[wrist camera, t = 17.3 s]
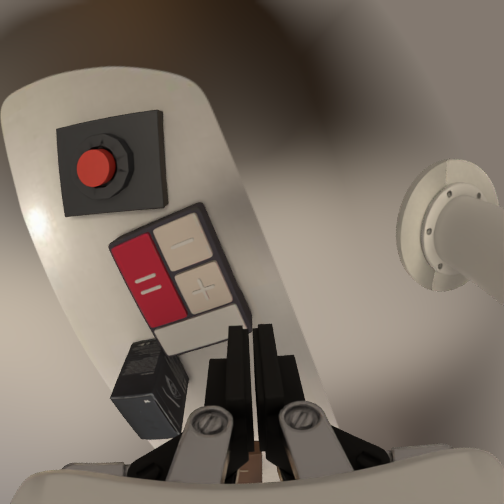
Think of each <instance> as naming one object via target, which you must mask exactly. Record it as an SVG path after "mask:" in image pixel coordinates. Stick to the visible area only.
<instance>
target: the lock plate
mask: <svg viewBox="0 0 504 504" xmlns="http://www.w3.org/2000/svg"><path fill="white" fill-rule="evenodd" d="M254 449H255V452H249V461H248V462H247V463H245V464H244V465H243V466H242V467H240V468H239V470H240V473H239V479H238V484H245V483H262V453H261V452H260V450H259V441H254Z"/></svg>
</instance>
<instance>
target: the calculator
mask: <svg viewBox="0 0 504 504" xmlns="http://www.w3.org/2000/svg"><path fill="white" fill-rule="evenodd" d="M108 247H109V250H110V252H111V254H112V257H113V259H114V261H115V263H116V265H117V267H118V269H119V271H120V273H121V275H122V277H123V279H124V281H125V283H126V285H127V287H128V289H129V291H130V293H131V295H132V297H133V299H134V300H135V302H136V304H137V306H138V308H139V310H140V312H141V313H142V315H143V317H144V319H145V321H146V322H147V324H148V326H149V328H150V329H151V331H152V333H153V335H154V336H155V338H156V340H157V342H158V343H159V345H160V347H161V348H162V350H163V352H164V353H165V355H166V356H167V357H173V356H177V355H181V354H184V353H187V352H191V351H194V350H198V349H201V348H204V347H208V346H211V345H214V344H218V343H221V342H224V341H227V340H228V327H229V326H237V325H243V329H248V334H249V333H251V332H252V314H251V312H250V310H249V307H248V305H247V303H246V301H245V298H244V296H243V294H242V292H241V290H240V288H239V287H238V284H237V282H236V280H235V278H234V275H233V273H232V271H231V268H230V266H229V264H228V261H227V259H226V257H225V254H224V252H223V249H222V247H221V245H220V242H219V240H218V238H217V235H216V233H215V230H214V228H213V226H212V223H211V221H210V219H209V216H208V214H207V211H206V209H205V207H204V205H203V203H196V204H194V205H191V206H189V207H187V208H184V209H182V210H180V211H177V212H175V213H172V214H170V215H168V216H165V217H163V218H161V219H159V220H156V221H154V222H152V223H149V224H147V225H145V226H143V227H140V228H138V229H136V230H134V231H131V232H129V233H127V234H125V235H123V236H121V237H119V238H117V239H116V240H114V241H113V242H111V243H110V244H109V246H108Z"/></svg>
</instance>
